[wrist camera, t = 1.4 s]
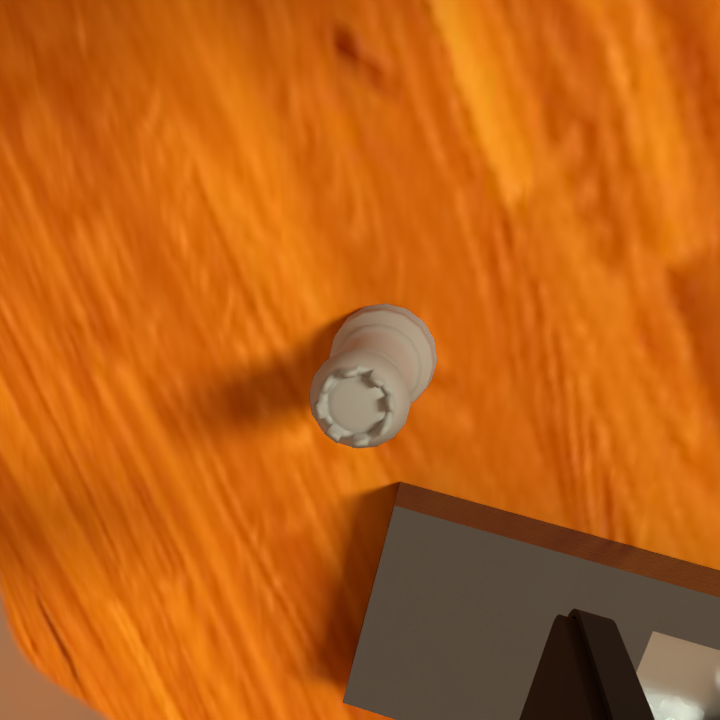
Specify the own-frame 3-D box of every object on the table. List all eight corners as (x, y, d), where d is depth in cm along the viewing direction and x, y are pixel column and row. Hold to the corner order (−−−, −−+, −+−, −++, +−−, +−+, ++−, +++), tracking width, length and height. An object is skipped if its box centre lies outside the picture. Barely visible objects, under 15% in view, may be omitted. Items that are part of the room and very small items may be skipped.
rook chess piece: (459, 360, 26) (459, 418, 18) (381, 424, 27) (349, 504, 19) (389, 279, 26) (358, 305, 18) (313, 348, 27) (253, 399, 19)
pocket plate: (400, 481, 27) (394, 505, 25) (970, 640, 25) (1023, 683, 23) (351, 665, 30) (342, 702, 28) (866, 826, 27) (904, 881, 25)
